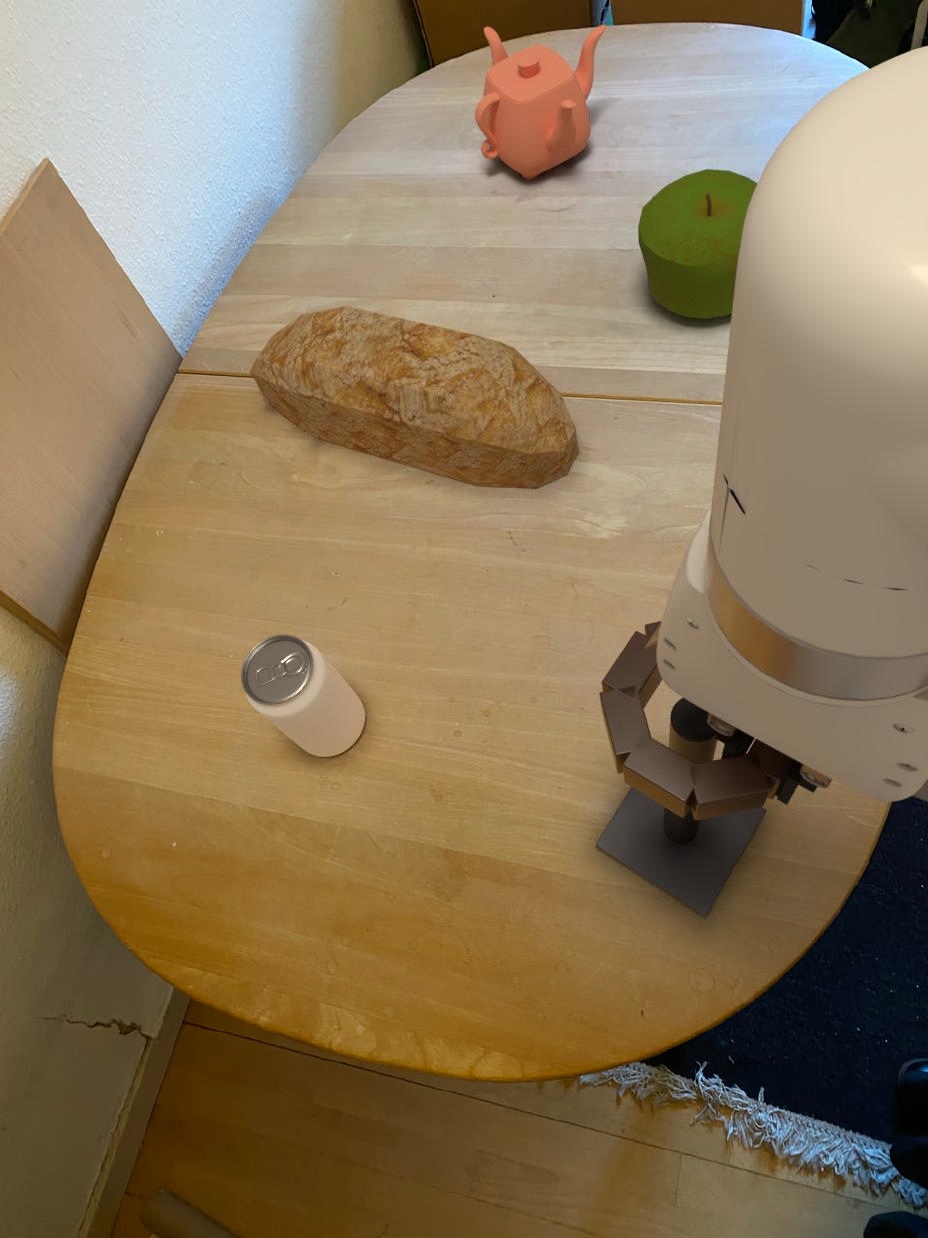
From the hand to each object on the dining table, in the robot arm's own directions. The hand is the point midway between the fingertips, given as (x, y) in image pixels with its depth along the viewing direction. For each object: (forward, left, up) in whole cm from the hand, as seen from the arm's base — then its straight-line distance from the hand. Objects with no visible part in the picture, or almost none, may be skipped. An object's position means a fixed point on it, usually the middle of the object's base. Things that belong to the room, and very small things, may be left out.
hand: (768, 758), depth 39 cm
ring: (+3, 0, 0) cm, 3 cm away
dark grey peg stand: (+4, 0, -25) cm, 25 cm away
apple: (+29, -49, -25) cm, 62 cm away
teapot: (+57, -63, -25) cm, 88 cm away
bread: (+47, -22, -25) cm, 57 cm away
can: (+33, +8, -25) cm, 42 cm away
